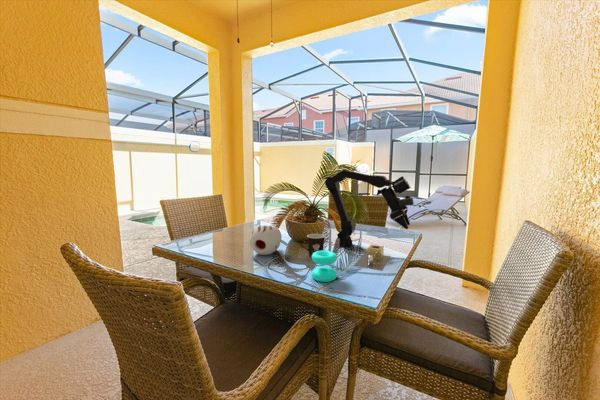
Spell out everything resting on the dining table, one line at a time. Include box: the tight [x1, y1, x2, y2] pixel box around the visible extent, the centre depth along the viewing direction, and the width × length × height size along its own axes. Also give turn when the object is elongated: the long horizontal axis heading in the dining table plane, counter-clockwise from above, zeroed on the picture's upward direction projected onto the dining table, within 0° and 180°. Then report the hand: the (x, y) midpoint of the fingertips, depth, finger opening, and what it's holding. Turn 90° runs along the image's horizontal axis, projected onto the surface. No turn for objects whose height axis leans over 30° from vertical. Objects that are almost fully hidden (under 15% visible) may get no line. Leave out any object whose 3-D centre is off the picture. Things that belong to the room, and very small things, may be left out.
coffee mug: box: [298, 233, 325, 258], centre depth 135 cm, size 12×9×10 cm
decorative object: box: [249, 225, 282, 256], centre depth 139 cm, size 16×19×15 cm
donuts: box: [311, 250, 338, 283], centre depth 109 cm, size 10×10×10 cm
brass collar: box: [367, 244, 385, 261], centre depth 128 cm, size 6×6×5 cm
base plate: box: [353, 252, 391, 271], centre depth 124 cm, size 20×12×6 cm, turn 153°
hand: (408, 226), depth 132 cm, fingers open, 9 cm apart
